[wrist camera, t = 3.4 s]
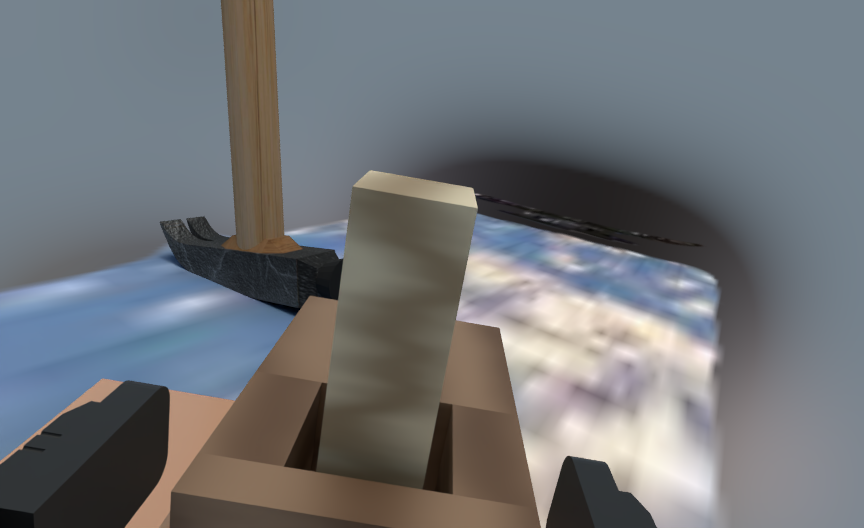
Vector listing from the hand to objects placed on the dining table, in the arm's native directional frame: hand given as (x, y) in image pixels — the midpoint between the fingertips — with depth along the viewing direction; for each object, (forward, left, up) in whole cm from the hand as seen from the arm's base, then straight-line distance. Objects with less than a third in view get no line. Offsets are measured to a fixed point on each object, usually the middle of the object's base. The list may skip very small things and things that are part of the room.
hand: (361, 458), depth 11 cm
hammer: (-14, +38, -12) cm, 42 cm away
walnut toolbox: (0, +14, -12) cm, 18 cm away
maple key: (0, +10, -12) cm, 16 cm away
